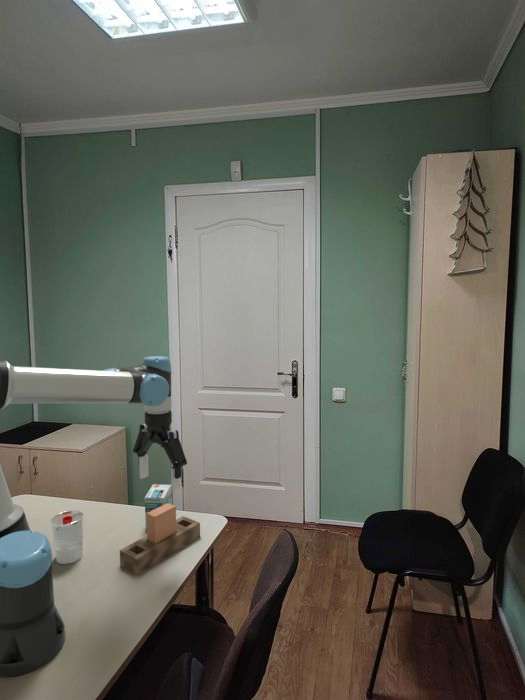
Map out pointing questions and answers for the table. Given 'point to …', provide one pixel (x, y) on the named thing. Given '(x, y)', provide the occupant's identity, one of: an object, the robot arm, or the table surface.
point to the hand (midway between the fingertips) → (159, 482)
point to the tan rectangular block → (161, 523)
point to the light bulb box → (157, 498)
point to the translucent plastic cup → (68, 536)
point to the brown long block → (158, 547)
